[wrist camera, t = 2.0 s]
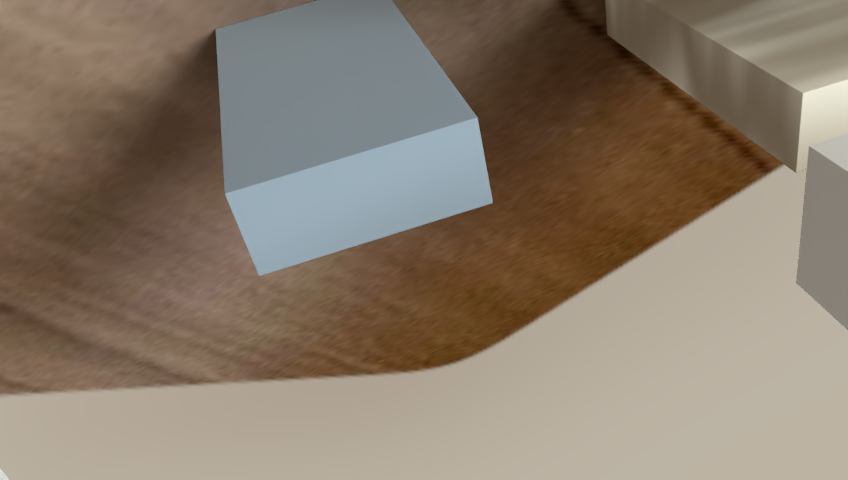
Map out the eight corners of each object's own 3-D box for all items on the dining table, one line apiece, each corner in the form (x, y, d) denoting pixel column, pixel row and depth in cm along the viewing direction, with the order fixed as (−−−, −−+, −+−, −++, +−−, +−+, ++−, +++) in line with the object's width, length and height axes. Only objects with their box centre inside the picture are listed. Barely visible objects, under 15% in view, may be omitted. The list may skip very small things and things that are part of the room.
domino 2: (603, -25, 25) (802, 92, 16) (747, -67, 25) (1012, 28, 17) (607, 34, 26) (796, 172, 18) (745, -6, 26) (993, 110, 18)
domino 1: (215, 29, 23) (224, 194, 15) (379, -18, 23) (477, 117, 15) (238, 91, 24) (259, 275, 16) (394, 45, 24) (493, 202, 16)
